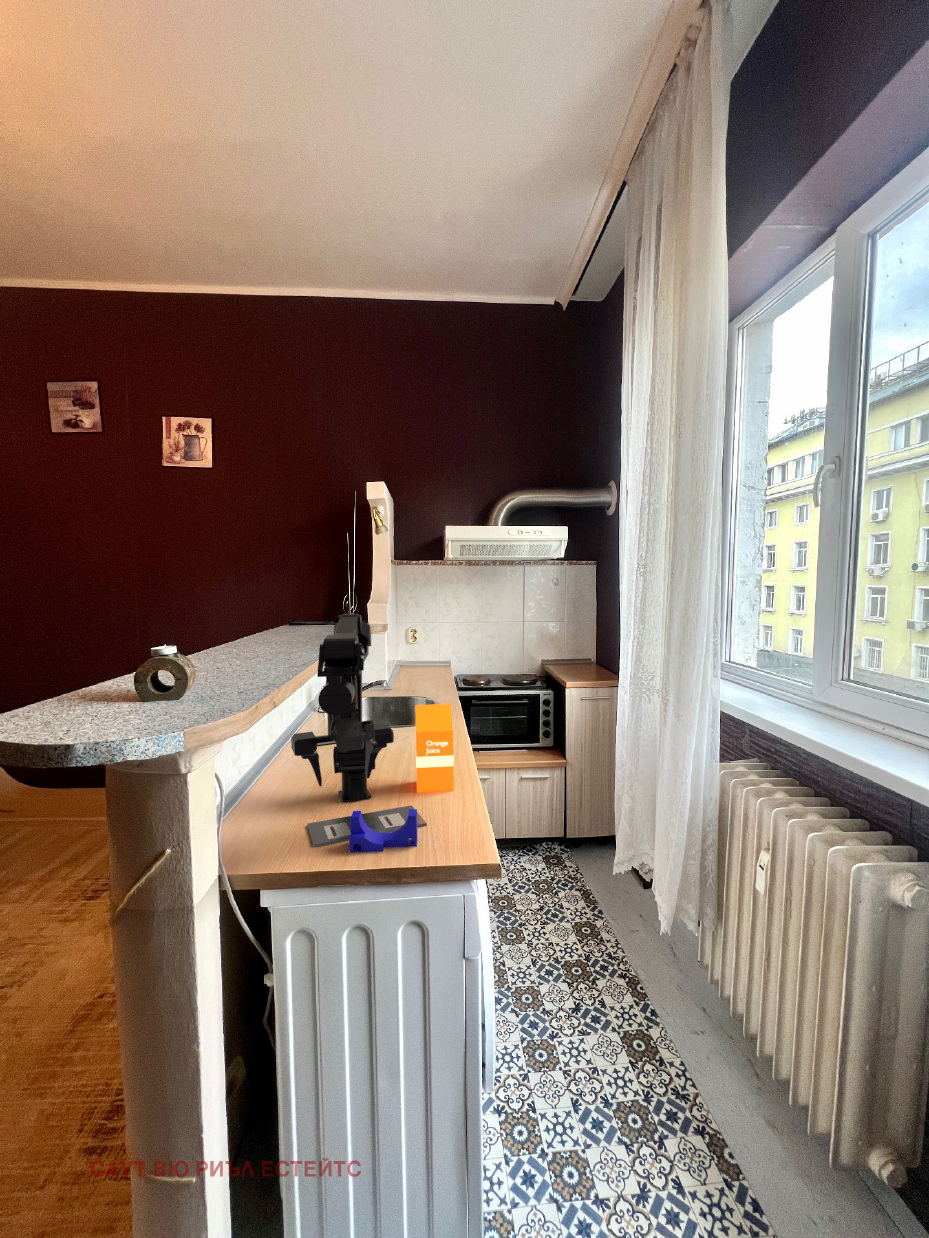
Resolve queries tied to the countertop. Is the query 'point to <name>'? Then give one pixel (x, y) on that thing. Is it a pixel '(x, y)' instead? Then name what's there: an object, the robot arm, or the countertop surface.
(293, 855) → the countertop surface
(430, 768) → the orange juice
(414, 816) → the blue cradle bracket
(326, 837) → the plate
